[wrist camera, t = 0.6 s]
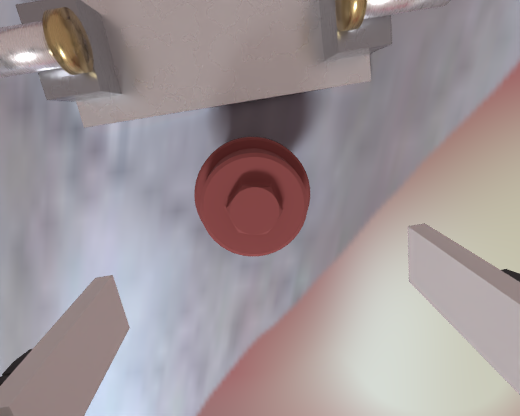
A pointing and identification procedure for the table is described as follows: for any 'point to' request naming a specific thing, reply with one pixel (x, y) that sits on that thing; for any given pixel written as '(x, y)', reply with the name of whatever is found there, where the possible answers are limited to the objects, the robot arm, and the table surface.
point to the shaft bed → (193, 50)
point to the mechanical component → (252, 196)
